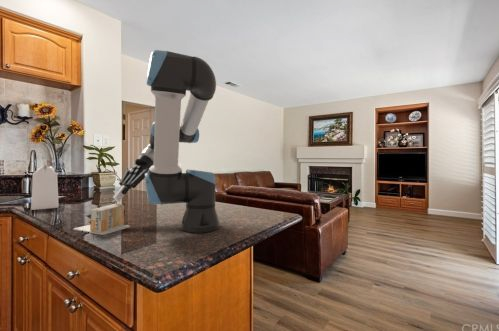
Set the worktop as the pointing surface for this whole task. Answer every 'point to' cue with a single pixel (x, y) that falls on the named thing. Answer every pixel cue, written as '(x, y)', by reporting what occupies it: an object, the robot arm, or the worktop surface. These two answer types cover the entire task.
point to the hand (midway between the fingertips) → (116, 199)
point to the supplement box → (106, 217)
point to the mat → (117, 228)
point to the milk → (44, 188)
